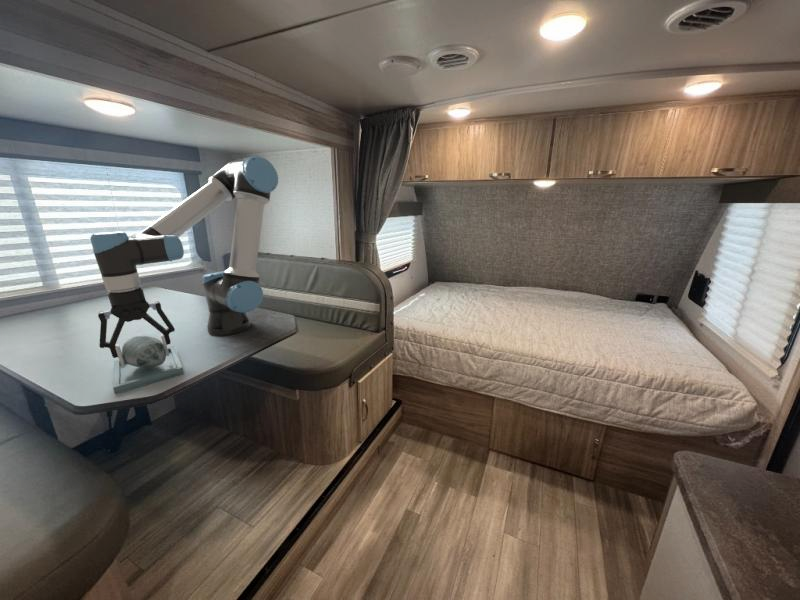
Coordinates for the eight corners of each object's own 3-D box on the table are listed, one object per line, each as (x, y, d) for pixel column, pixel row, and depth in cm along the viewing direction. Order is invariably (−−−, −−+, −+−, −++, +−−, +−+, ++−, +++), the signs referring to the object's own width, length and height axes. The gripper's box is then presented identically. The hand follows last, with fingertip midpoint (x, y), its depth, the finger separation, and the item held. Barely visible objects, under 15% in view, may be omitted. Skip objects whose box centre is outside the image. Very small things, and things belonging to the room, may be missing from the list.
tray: (175, 351, 106) (174, 345, 106) (183, 373, 92) (182, 367, 92) (116, 366, 97) (114, 361, 96) (115, 394, 83) (113, 387, 82)
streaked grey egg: (178, 351, 94) (150, 328, 89) (149, 377, 88) (117, 354, 83) (166, 349, 103) (139, 328, 98) (139, 373, 97) (109, 352, 92)
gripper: (171, 279, 96) (188, 344, 103) (69, 294, 83) (96, 368, 89) (174, 283, 91) (192, 352, 98) (65, 300, 77) (95, 378, 84)
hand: (146, 360), depth 94 cm, fingers closed on streaked grey egg, 10 cm apart
